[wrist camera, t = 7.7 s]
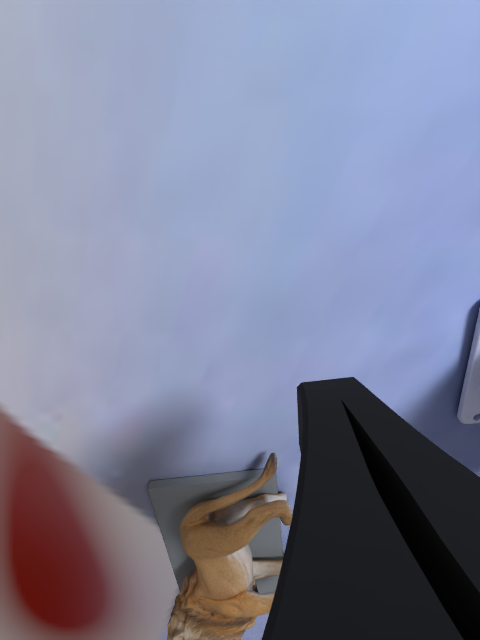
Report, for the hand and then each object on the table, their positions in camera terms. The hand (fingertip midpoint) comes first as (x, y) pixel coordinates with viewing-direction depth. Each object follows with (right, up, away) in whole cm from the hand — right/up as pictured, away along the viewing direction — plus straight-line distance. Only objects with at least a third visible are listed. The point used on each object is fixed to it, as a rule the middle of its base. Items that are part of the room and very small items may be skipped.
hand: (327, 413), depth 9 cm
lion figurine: (+2, -13, +14) cm, 19 cm away
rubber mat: (-3, -13, +17) cm, 22 cm away
